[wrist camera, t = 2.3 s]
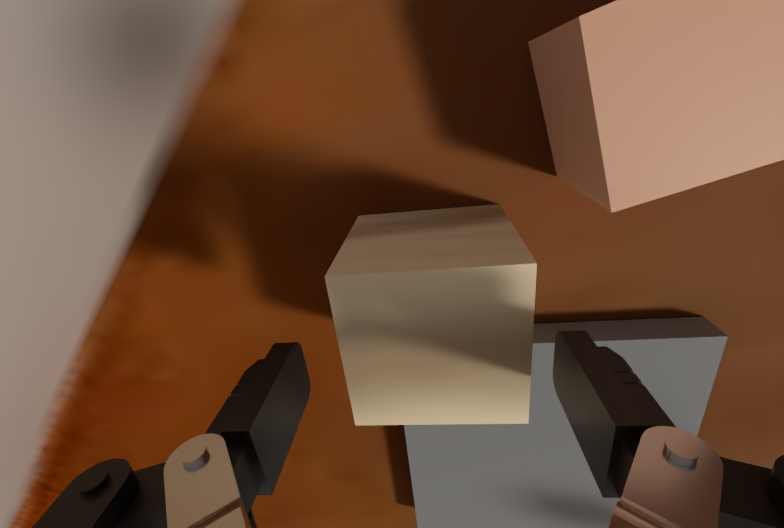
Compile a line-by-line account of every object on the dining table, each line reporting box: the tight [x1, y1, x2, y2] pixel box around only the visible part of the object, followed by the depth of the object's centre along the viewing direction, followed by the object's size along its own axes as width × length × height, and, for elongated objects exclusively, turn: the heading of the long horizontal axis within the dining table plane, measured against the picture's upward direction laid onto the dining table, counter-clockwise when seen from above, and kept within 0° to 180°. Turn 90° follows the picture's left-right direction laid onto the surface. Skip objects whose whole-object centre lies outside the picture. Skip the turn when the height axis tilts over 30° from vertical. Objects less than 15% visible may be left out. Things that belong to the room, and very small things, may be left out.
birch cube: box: [324, 204, 537, 425], centre depth 14 cm, size 6×6×6 cm
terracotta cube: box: [528, 0, 784, 213], centre depth 11 cm, size 5×5×5 cm
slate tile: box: [404, 317, 728, 528], centre depth 20 cm, size 14×14×2 cm
